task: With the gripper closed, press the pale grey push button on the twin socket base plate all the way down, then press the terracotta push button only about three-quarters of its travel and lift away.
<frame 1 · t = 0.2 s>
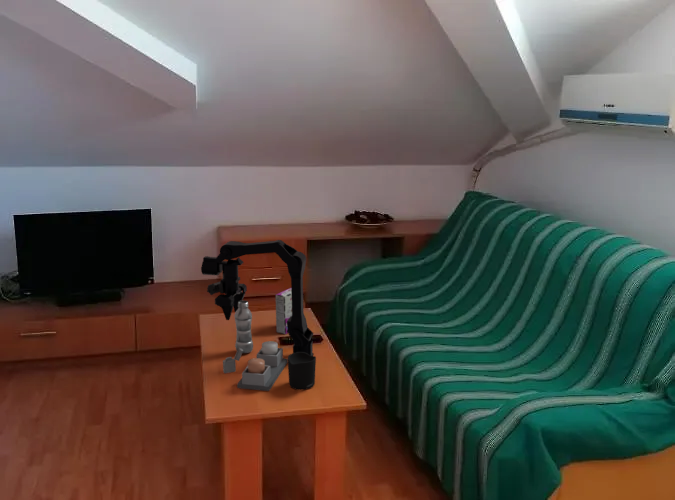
hand: (232, 315, 254), 14 cm above the table, tool pointing down, fingers open, 9 cm apart
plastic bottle: (244, 352, 257), on the table
terracotta button: (256, 367, 229), point 6 cm above the table, slide at 0.0 cm
lighter: (233, 371, 241), on the table
pen holder: (301, 385, 230), on the table
grey button: (269, 349, 244), point 6 cm above the table, slide at 0.0 cm
candy bar box: (288, 329, 281), on the table
twin socket base plate: (263, 374, 238), on the table
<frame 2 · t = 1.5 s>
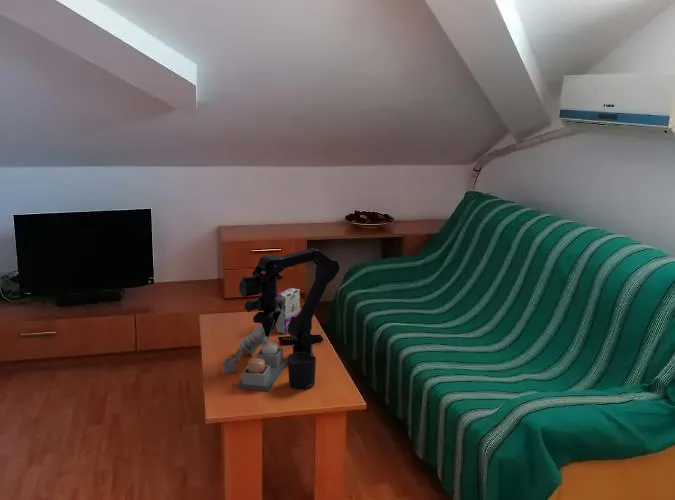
hand: (269, 334, 242), 12 cm above the table, tool pointing down, fingers open, 4 cm apart
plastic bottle: (245, 347, 256), point 2 cm above the table, touching gripper
grey button: (269, 350, 244), point 6 cm above the table, slide at 0.4 cm
everything else where it was.
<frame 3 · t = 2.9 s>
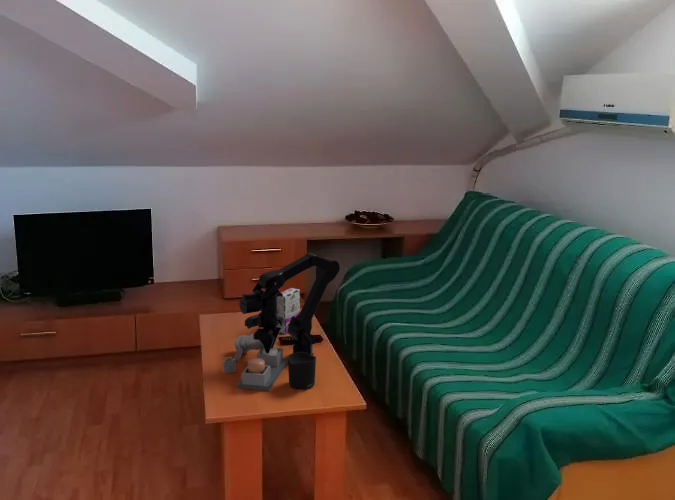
hand: (269, 350, 244), 6 cm above the table, tool pointing down, fingers open, 4 cm apart
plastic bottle: (240, 344, 258), point 3 cm above the table, touching twin socket base plate, gripper
grey button: (269, 355, 244), point 4 cm above the table, slide at 2.4 cm, touching gripper
everything else where it was.
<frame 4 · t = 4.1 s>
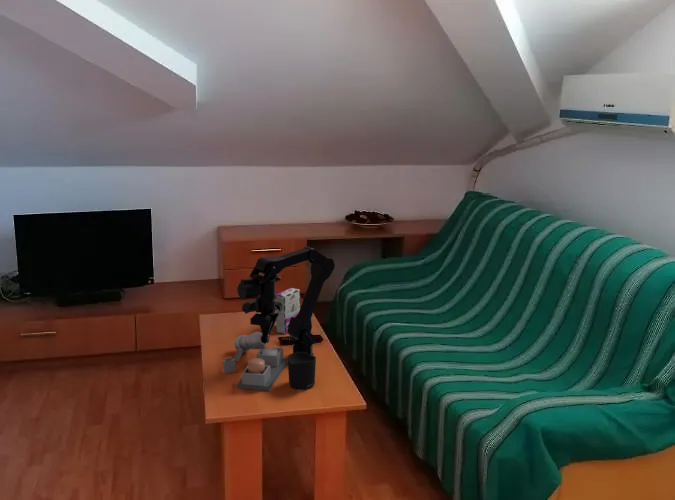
hand: (267, 336, 240), 12 cm above the table, tool pointing down, fingers open, 3 cm apart
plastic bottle: (239, 344, 258), point 3 cm above the table, touching twin socket base plate
grey button: (269, 355, 244), point 4 cm above the table, slide at 2.4 cm
everything else where it was.
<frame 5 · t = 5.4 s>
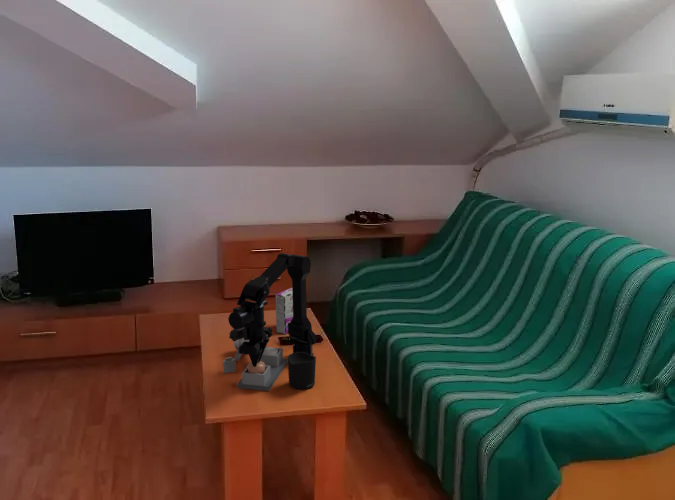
hand: (256, 364, 228), 7 cm above the table, tool pointing down, fingers closed on terracotta button, 3 cm apart
terracotta button: (256, 369, 229), point 5 cm above the table, slide at 0.9 cm, touching gripper
everything else where it was.
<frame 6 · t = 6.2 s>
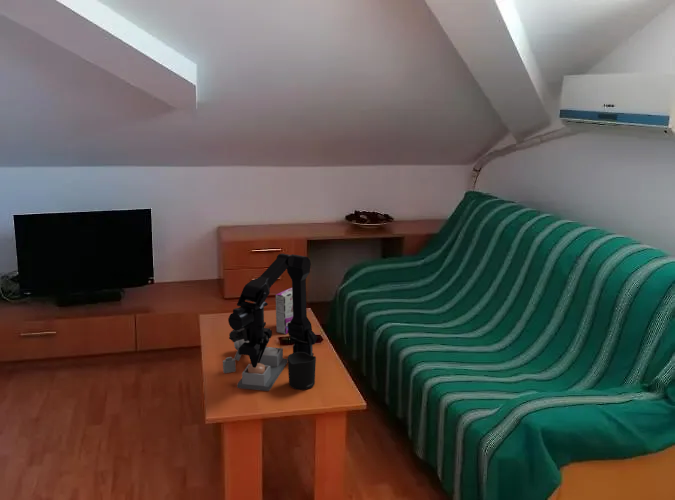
hand: (256, 365, 228), 7 cm above the table, tool pointing down, fingers open, 3 cm apart
terracotta button: (256, 371, 229), point 5 cm above the table, slide at 1.8 cm
everything else where it was.
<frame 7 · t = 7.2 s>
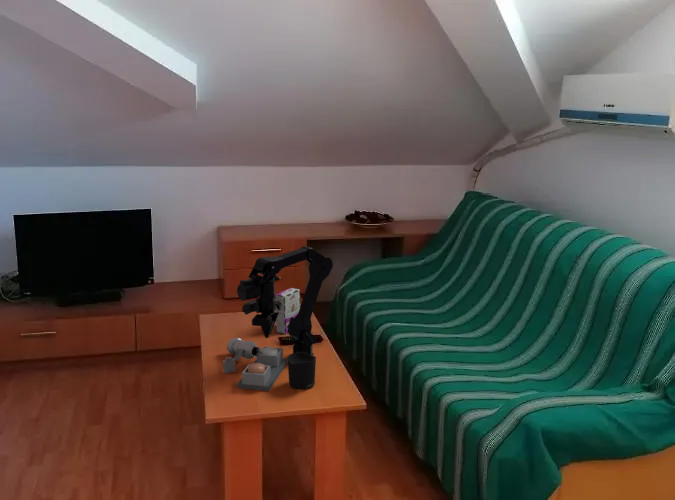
hand: (268, 335, 240), 12 cm above the table, tool pointing down, fingers open, 3 cm apart
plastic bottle: (232, 345, 256), point 3 cm above the table, touching twin socket base plate, lighter
lighter: (233, 371, 241), on the table, touching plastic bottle
everything else where it was.
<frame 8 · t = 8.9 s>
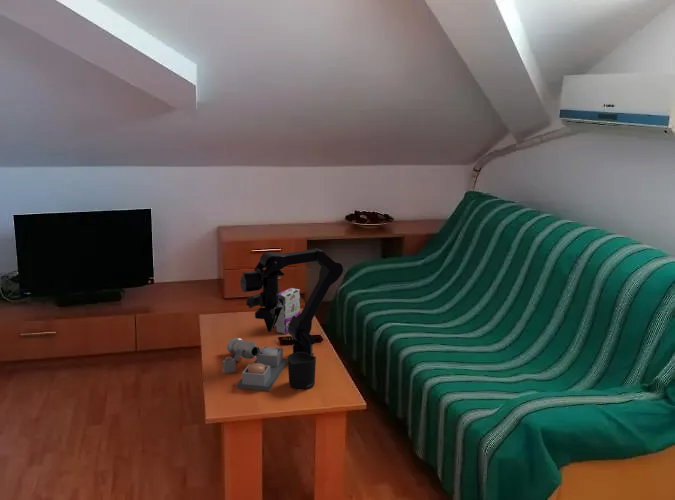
hand: (271, 329, 244), 13 cm above the table, tool pointing down, fingers open, 3 cm apart
nothing on the table moved.
at the end: grey button slide at 2.4 cm; terracotta button slide at 1.8 cm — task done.
